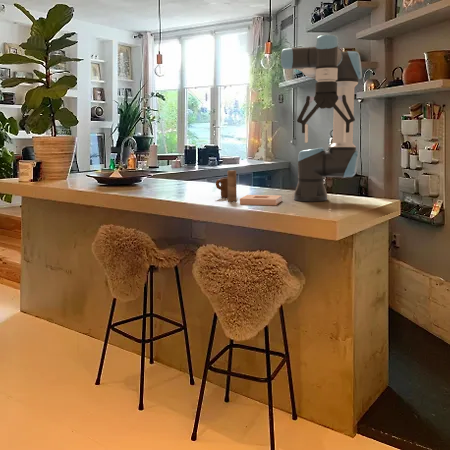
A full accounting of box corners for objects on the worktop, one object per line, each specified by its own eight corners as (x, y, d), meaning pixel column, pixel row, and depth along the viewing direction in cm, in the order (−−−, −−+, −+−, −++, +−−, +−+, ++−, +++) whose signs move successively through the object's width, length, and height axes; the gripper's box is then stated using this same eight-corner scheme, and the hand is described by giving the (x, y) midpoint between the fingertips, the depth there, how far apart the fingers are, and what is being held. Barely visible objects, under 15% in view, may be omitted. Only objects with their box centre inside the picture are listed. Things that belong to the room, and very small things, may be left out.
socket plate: (247, 200, 244) (247, 194, 244) (281, 201, 240) (281, 195, 239) (239, 204, 231) (239, 198, 230) (275, 205, 226) (275, 199, 226)
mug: (222, 199, 248) (221, 179, 247) (211, 198, 254) (210, 178, 252) (239, 196, 257) (239, 177, 255) (228, 195, 262) (228, 176, 260)
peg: (229, 200, 243) (228, 170, 241) (237, 200, 242) (237, 170, 240) (226, 201, 240) (226, 170, 237) (235, 201, 239) (234, 170, 236)
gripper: (289, 82, 186) (289, 142, 190) (362, 79, 180) (360, 142, 184) (292, 83, 193) (292, 142, 197) (363, 81, 187) (361, 141, 191)
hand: (325, 142), depth 190 cm, fingers open, 13 cm apart
